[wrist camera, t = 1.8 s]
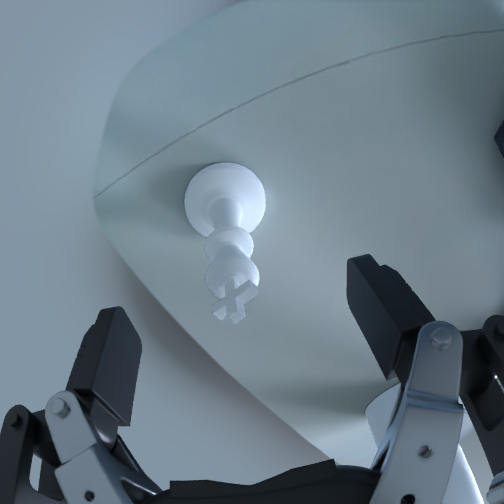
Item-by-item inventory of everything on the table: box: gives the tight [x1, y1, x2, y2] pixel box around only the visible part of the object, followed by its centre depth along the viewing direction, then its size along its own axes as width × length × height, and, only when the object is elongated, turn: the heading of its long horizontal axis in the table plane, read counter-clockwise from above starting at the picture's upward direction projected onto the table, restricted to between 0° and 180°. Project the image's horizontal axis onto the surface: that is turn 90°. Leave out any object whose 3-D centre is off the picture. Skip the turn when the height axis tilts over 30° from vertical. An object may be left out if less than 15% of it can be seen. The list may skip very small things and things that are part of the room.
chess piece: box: [184, 163, 265, 324], centre depth 13 cm, size 5×5×10 cm
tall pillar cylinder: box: [365, 383, 484, 504], centre depth 25 cm, size 11×11×25 cm
